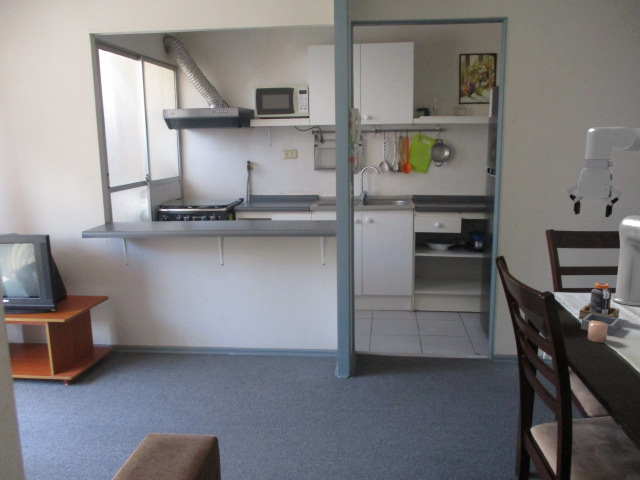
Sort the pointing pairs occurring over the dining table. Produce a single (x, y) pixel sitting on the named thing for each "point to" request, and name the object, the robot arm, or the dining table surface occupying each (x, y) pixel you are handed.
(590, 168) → the robot arm
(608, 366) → the dining table surface
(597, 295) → the pill bottle
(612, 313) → the brown wooden open tray
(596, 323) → the peach rounded capsule
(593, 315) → the gray square open tray
